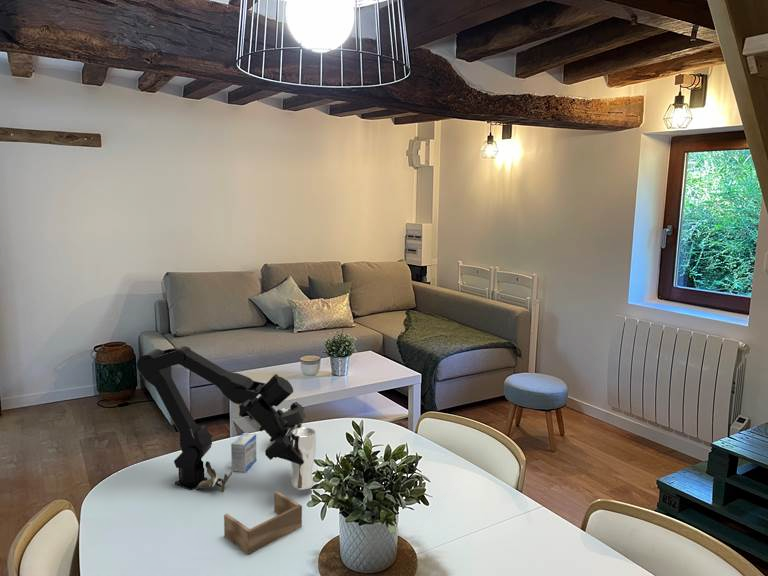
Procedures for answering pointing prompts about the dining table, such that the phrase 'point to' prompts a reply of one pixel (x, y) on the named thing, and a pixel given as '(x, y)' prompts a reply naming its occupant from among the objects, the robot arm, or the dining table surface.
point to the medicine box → (243, 452)
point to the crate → (265, 525)
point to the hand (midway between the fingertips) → (305, 457)
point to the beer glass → (303, 457)
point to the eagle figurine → (213, 479)
